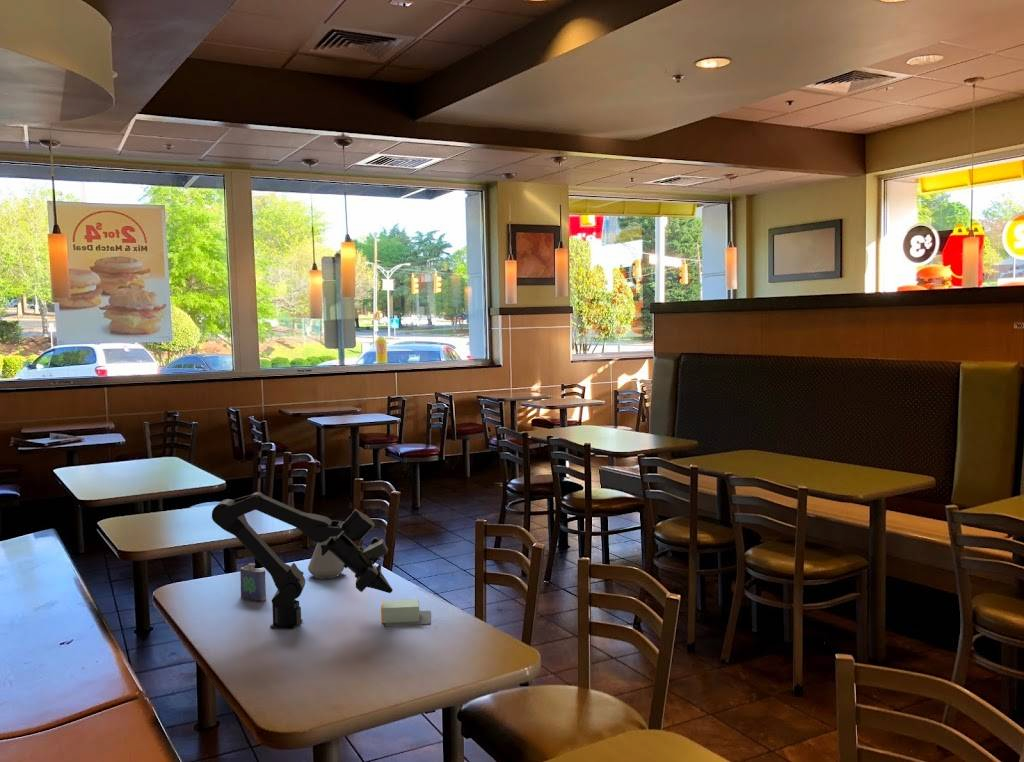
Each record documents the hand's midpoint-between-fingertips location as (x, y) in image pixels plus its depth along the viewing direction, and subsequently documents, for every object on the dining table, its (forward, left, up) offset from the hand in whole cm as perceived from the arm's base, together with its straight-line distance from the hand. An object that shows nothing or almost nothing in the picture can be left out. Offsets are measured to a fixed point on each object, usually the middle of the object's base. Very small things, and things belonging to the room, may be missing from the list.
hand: (391, 591), depth 231 cm
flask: (-47, +9, -8) cm, 48 cm away
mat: (+4, +1, -8) cm, 9 cm away
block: (-3, -1, -5) cm, 6 cm away
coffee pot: (-32, +31, -8) cm, 45 cm away
